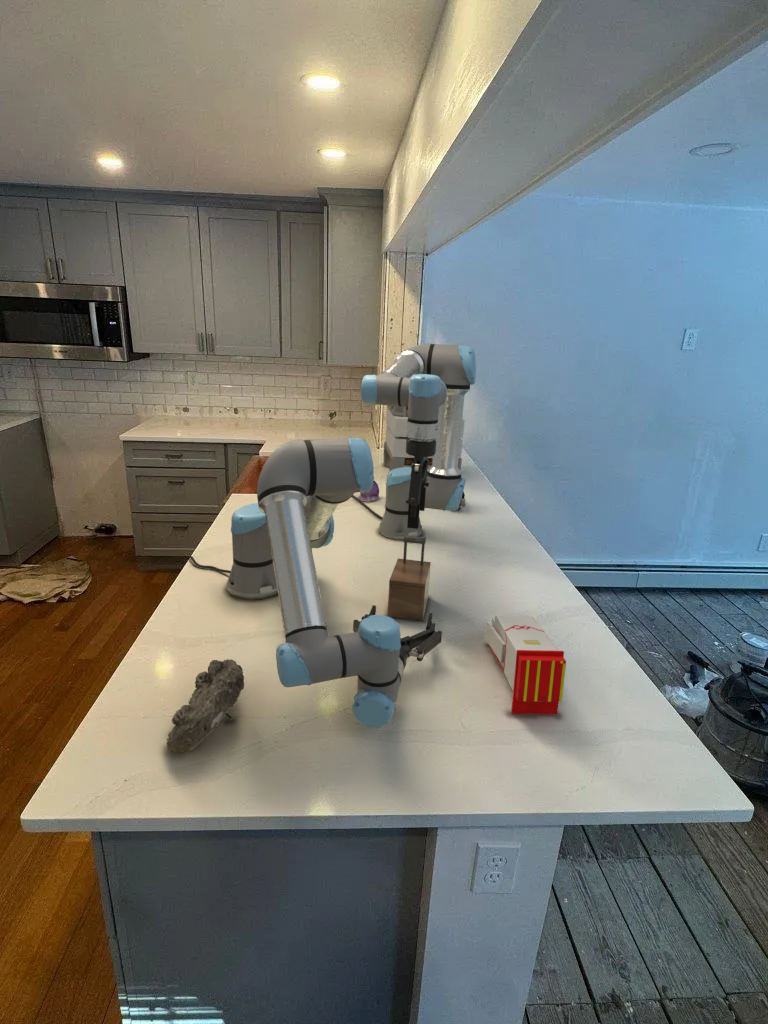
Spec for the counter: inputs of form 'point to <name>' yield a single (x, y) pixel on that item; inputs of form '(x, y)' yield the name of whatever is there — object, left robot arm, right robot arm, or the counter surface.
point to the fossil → (206, 705)
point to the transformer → (402, 439)
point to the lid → (411, 566)
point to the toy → (527, 663)
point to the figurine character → (462, 501)
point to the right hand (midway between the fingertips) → (416, 518)
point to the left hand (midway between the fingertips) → (402, 613)
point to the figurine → (370, 493)
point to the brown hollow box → (408, 601)
